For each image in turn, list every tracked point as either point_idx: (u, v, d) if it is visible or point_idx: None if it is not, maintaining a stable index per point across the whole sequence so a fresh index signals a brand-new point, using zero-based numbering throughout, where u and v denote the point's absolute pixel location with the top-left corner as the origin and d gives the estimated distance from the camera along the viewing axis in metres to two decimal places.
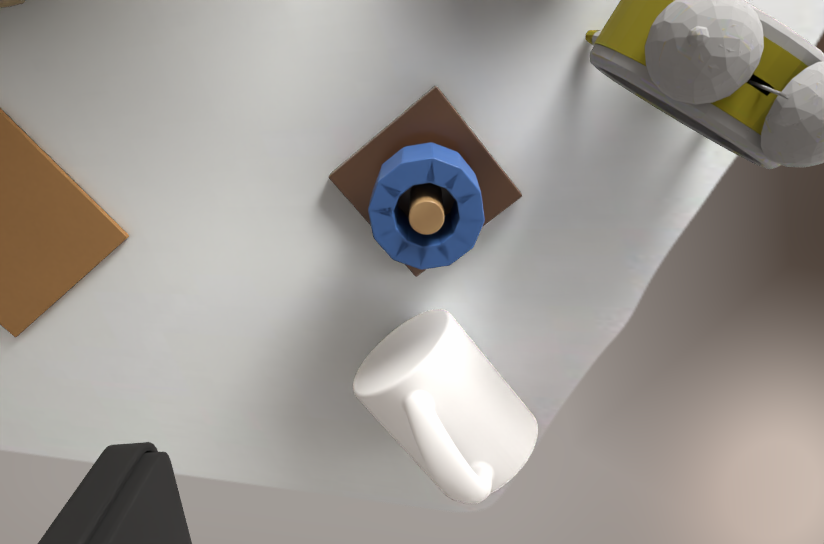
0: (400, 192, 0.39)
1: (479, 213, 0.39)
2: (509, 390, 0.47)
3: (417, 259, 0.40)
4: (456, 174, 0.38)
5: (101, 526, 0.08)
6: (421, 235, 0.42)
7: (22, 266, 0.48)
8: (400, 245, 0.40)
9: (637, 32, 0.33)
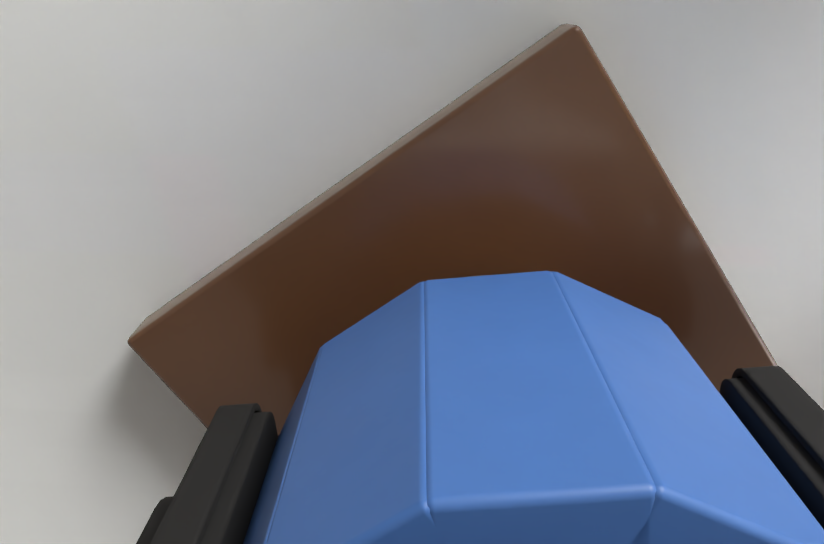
0: None
1: None
2: None
3: None
4: None
5: (232, 473, 0.08)
6: None
7: None
8: None
9: None
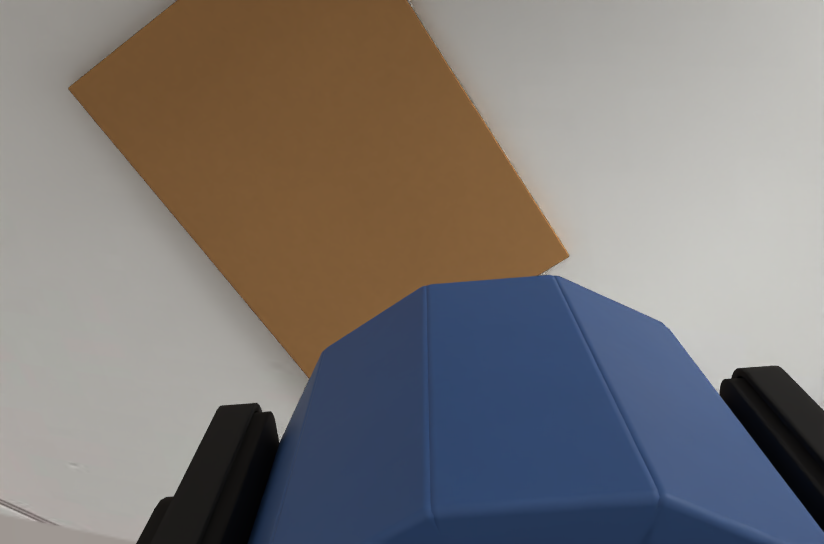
0: None
1: None
2: None
3: None
4: None
5: (231, 472, 0.08)
6: None
7: (374, 288, 0.28)
8: None
9: None
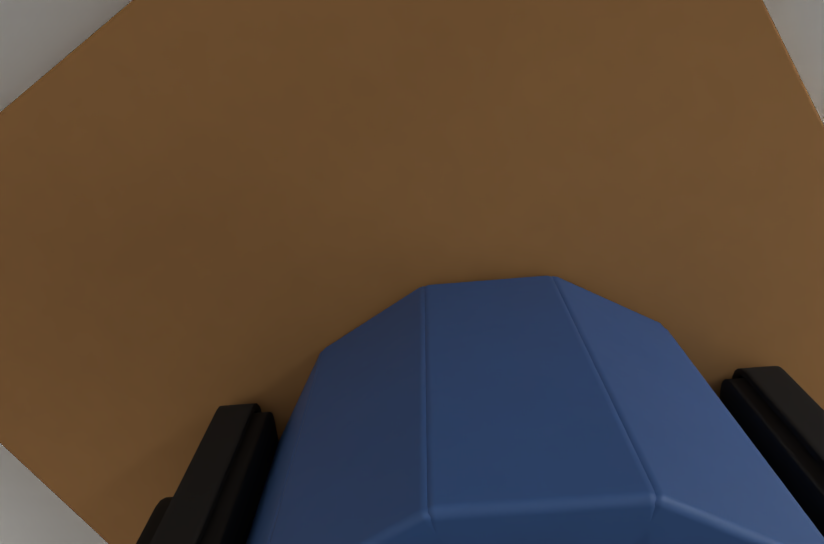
0: None
1: None
2: None
3: None
4: None
5: (231, 473, 0.08)
6: None
7: None
8: None
9: None
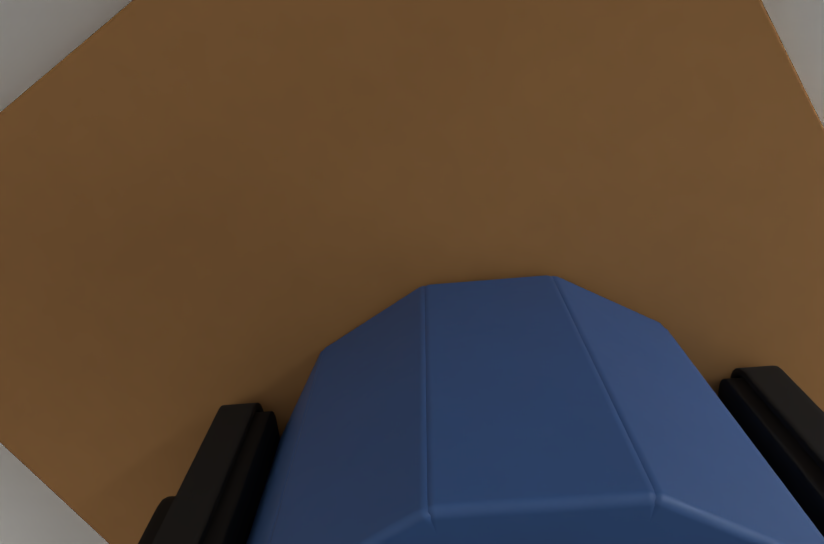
0: None
1: None
2: None
3: None
4: None
5: (233, 472, 0.08)
6: None
7: None
8: None
9: None
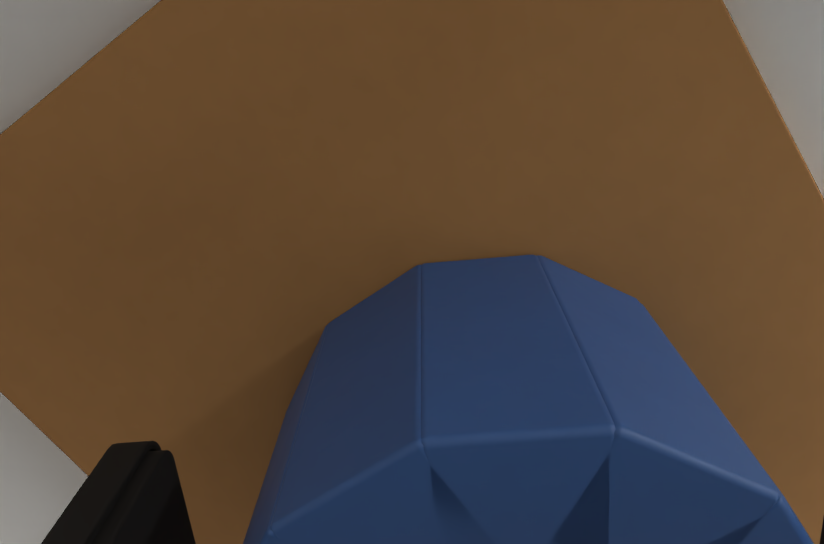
0: None
1: None
2: None
3: None
4: (739, 524, 0.06)
5: (106, 524, 0.08)
6: None
7: None
8: None
9: None
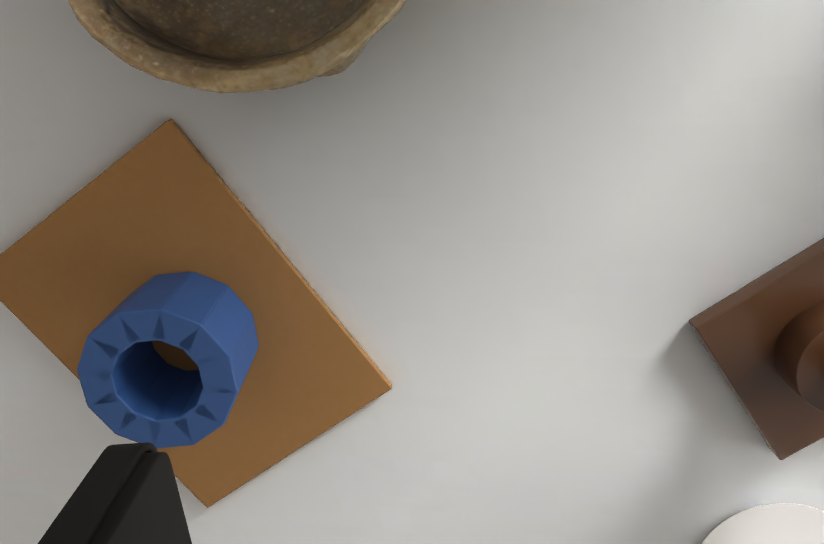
0: (119, 350, 0.28)
1: (229, 382, 0.29)
2: None
3: (149, 435, 0.30)
4: (193, 331, 0.28)
5: (101, 526, 0.08)
6: (168, 396, 0.31)
7: (235, 418, 0.35)
8: (124, 417, 0.29)
9: None
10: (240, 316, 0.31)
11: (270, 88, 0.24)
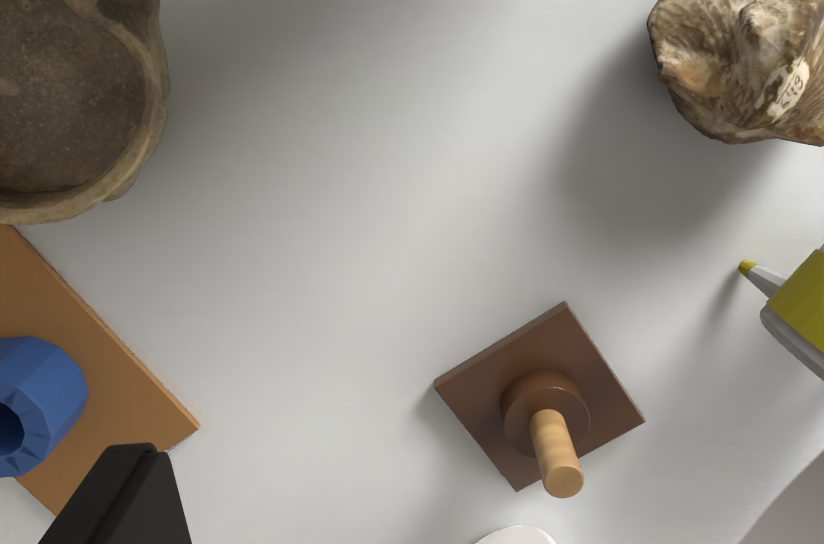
0: None
1: (44, 430, 0.37)
2: None
3: None
4: (13, 391, 0.36)
5: (101, 526, 0.08)
6: (8, 435, 0.40)
7: (75, 449, 0.43)
8: None
9: None
10: (65, 373, 0.40)
11: (45, 222, 0.32)
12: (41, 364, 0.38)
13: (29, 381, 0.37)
